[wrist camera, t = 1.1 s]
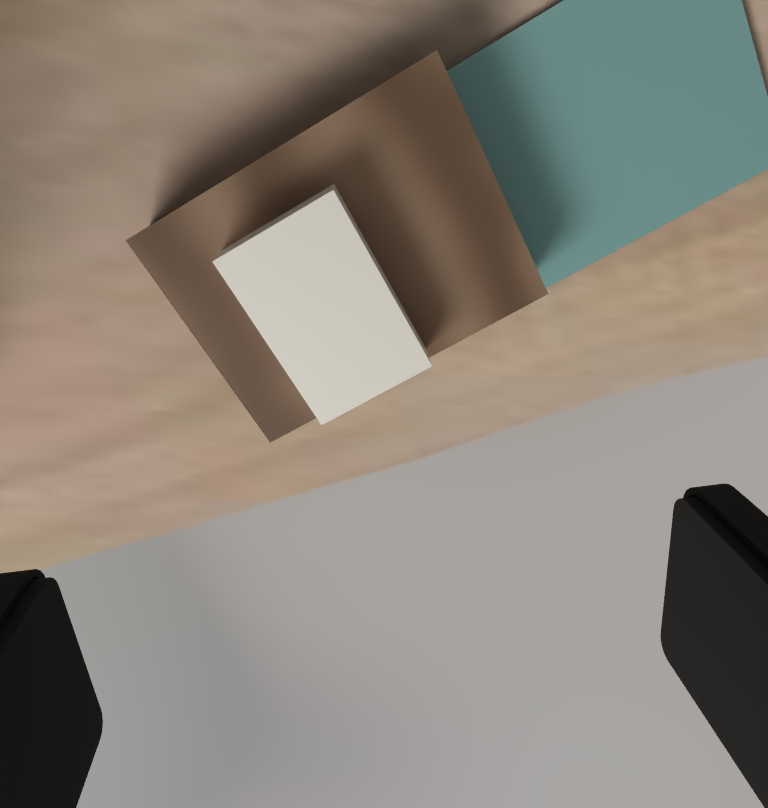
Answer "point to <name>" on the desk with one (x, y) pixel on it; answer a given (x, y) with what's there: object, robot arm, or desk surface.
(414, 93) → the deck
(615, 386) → the desk surface
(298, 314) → the white rectangular block
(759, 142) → the mat
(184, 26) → the desk surface
